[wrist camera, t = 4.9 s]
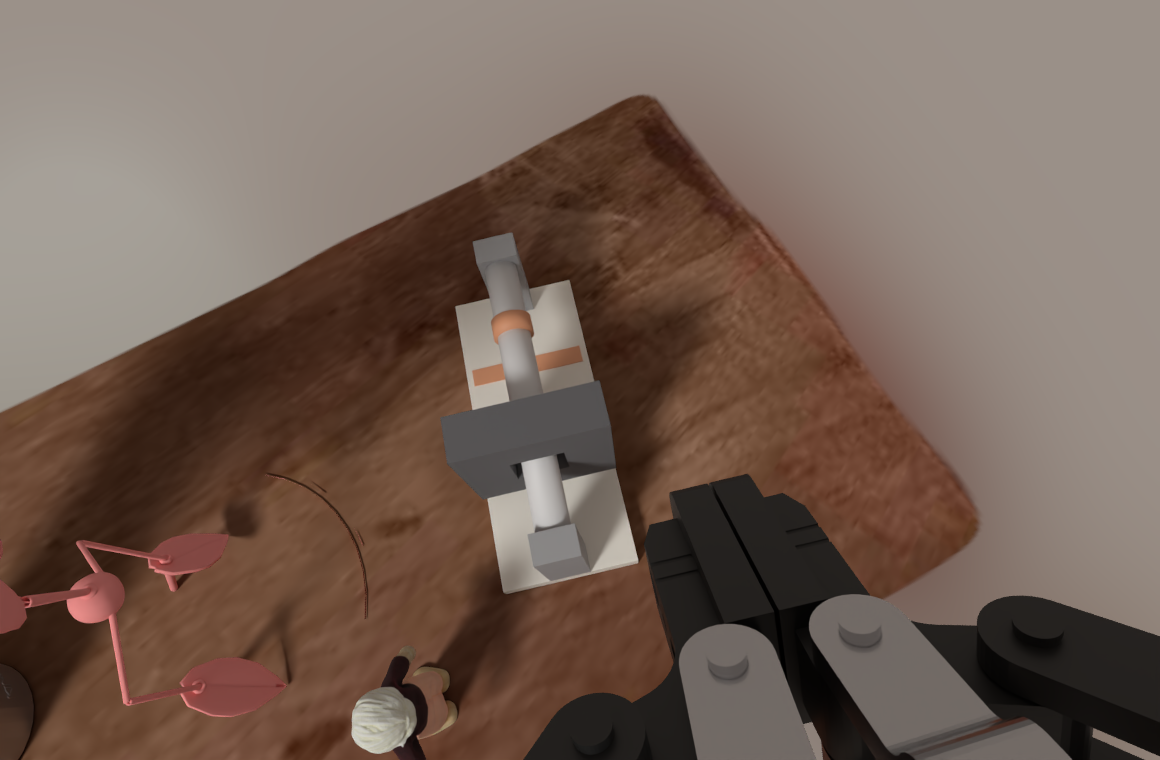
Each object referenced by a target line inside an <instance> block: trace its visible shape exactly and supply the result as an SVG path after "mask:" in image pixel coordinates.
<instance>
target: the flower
mask: <svg viewBox="0 0 1160 760" xmlns="http://www.w3.org/2000/svg"><path fill="white" fill-rule="evenodd" d="M267 476H269V475H267ZM272 477H273V476H272ZM276 478H277V477H276ZM281 479H282V478H281ZM285 480H286V479H285ZM297 485H298V484H297ZM322 492H323V491H322ZM313 494H314V493H313ZM316 496H317V495H316ZM329 507H330V506H329ZM330 508H331V507H330ZM331 509H332V508H331ZM332 510H333V509H332ZM333 511H334V510H333ZM334 512H335V511H334ZM335 513H336V512H335ZM336 514H337V513H336ZM338 517H339V516H338ZM340 520H341V519H340ZM341 521H342V520H341ZM343 524H344V523H343ZM345 527H346V526H345ZM346 528H347V527H346ZM354 529H355V528H354ZM355 531H356V530H355ZM348 532H349V530H348ZM356 533H357V532H356ZM349 534H350V533H349ZM357 535H358V534H357ZM228 536H229V535H227V534H186V535H181V536H175V537H172V538H170V539H168V540H166V541H164V542H162V543H160V544H159V545H158V546H157V547H156V548H155V549H154V550H153V551H152V552H151V553H146V552H141V551H136V550H131V549H126V548H121V547H116V546H111V545H106V544H101V543H96V542H91V541H86V540H81V541H80V540H79V541H77V542H76V544H77V546H78V547H79V549H80V550H81V552H82V553H83V555H84V556H85V558H86V560H87V561H88V563H89V564H90V566H91V567H92V569H93V570H94V572H95V573H93V574H90V575H88V576H86V577H84V578H82V579H80V580H79V581H78V582H76V583H75V584H74V585H73V587H72V588H71V589H70V590H69V591H61V592H53V593H45V594H37V595H28V596H24V597H21V596H17V594H16V593H15V592H14V591H13V590H12V589H11V588H9V587H8V586H7V585H6V584H5V583H4V582H3V581H2V580H1V579H0V634H3V633H6V632H9V631H12V630H16V629H19V628H20V627H21V625H22V624H23V623H24V622H25V620H26V619H27V616H26V610H25V608H29V607H34V606H39V605H44V604H48V603H53V602H58V601H63V600H67V607H68V610H69V612H70V613H71V615H72V616H73V617H74V618H75V619H76V620H78V621H80V622H84V623H96V622H101V621H104V620H106V619H108V618H109V622H110V628H111V633H112V639H113V645H114V650H115V656H116V662H117V667H118V673H119V679H120V685H121V691H122V697H123V703H124V704H126V705H127V706H129V705H134V704H138V703H142V702H147V701H151V700H155V699H160V698H164V697H169V696H173V695H177V694H180V695H181V697H182V698H183V700H184V702H185V703H186V705H187V706H188V707H190V708H192V709H195V710H197V711H200V712H202V713H205V714H207V715H209V716H220V717H233V716H237V715H240V714H244V713H248V712H251V711H254V710H256V709H258V708H259V707H261V706H262V705H263V704H265V703H266V702H268V701H269V700H271V699H272V698H274V697H275V696H276V695H278V694H279V693H280V692H281V691H282V690H283V689H284V688H285V687H286V684H285V683H284V682H283V681H282V680H281V679H280V678H279V677H278V676H276V675H275V674H273V673H272V672H271V671H269V670H268V669H266V668H265V667H264V666H262V665H261V664H259V663H257V662H253V661H249V660H245V659H242V658H238V657H233V658H217V659H215V660H212V661H209V662H207V663H204V664H201V665H199V666H196V667H193V668H192V669H191V670H190V671H189V672H188V673H187V675H186V676H185V677H184V678H183V680H182V681H181V682H180V684H181V686H182V688H177V689H172V690H167V691H163V692H158V693H153V694H148V695H144V696H139V697H134V698H130V695H129V689H128V683H127V677H126V671H125V666H124V660H123V654H122V648H121V641H120V635H119V629H118V623H117V617H116V613H117V612H118V611H119V609H120V608H121V607H122V605H123V602H124V599H125V591H124V587H123V585H122V583H121V581H120V580H119V579H118V578H117V577H116V576H115V575H113V574H111V573H107V572H103V570H102V569H101V567H100V566H99V565H98V563H97V562H96V560H95V559H94V558H93V556H92V555H91V553H90V552H89V550H88V549H87V548H86V547H89V548H95V549H100V550H106V551H111V552H116V553H122V554H127V555H133V556H138V557H144V558H148V563H149V568H151V569H155V572H156V573H161V574H165V577H166V579H167V582H168V585H169V587H170V590H171V591H176V590H177V589H178V585H177V582H176V579H175V576H174V575H179V574H186V573H193V572H198V571H200V570H203V569H206V568H209V567H211V566H212V565H213V564H214V563H215V562H216V561H218V560H219V559H220V558H221V556H222V553H223V551H224V549H225V547H226V544H227V541H228ZM350 536H351V535H350ZM358 537H359V536H358ZM351 538H352V537H351ZM359 539H360V538H359ZM352 540H353V539H352ZM360 541H361V540H360ZM353 542H354V541H353ZM361 543H362V542H361ZM354 544H355V543H354ZM362 545H363V544H362ZM355 546H356V545H355ZM356 548H357V547H356ZM357 552H358V549H357ZM2 554H3V549H2V541H1V540H0V559H1V557H2ZM358 555H359V553H358ZM359 559H360V556H359ZM360 562H361V560H360ZM361 566H362V564H361ZM362 569H363V567H362ZM363 576H364V571H363ZM364 584H365V579H364ZM365 593H366V587H365ZM365 619H366V599H365Z"/></svg>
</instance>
